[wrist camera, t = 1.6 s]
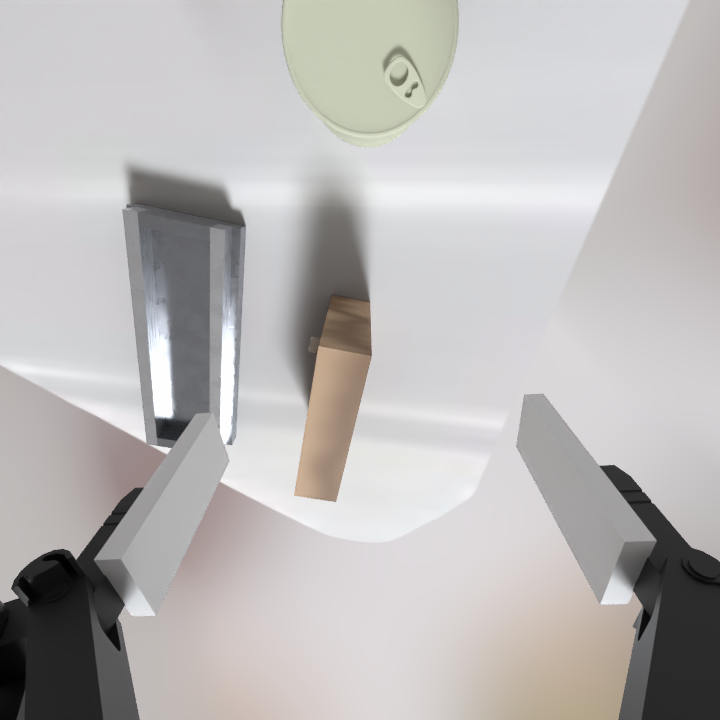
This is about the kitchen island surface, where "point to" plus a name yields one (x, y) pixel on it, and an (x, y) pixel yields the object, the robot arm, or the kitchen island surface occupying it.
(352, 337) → the door panel
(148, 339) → the door track
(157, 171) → the kitchen island surface
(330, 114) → the can
